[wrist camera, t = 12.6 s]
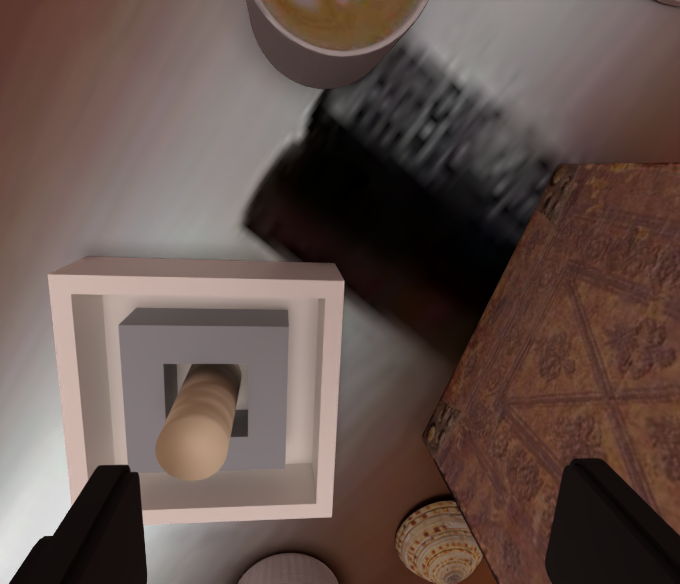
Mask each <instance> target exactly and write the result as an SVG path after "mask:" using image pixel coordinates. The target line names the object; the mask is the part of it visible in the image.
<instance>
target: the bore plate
mask: <svg viewBox="0 0 680 584" xmlns="http://www.w3.org/2000/svg"><path fill="white" fill-rule="evenodd" d="M118 329H119V343H120V358H121V373H122V387H123V402H124V417H125V431H126V446H127V461H128V466H129V467H130V470H131V472H138V473H157V472H166V471H165V470H163V468H162V467H161V466H160V464H159V463H158V460H157V458H156V453H155V446H156V442H157V439H158V437H159V435H160V432H161V430H162V428H163V426H164V424H165V422H166V419H167V417H168V415H169V413H170V411H171V408H172V406H173V404H174V402H175V400H176V398H177V395H178V384H177V364H248V410H235V416H234V421H233V426H232V432H231V437H230V442H229V447H228V453H227V457H226V460H225V462H224V464H223V466H222V467H221V468H220V469H219V470H218V471H228V470H264V469H285V458H286V418H287V378H288V338H289V321H288V310H265V309H195V308H135V309H134V310H133V311H132V312H131V313H130V314H129V315H128V316H127V317H126V318H125V319H124V320H123V321H122V322H121V323H120V324H119V325H118Z"/></svg>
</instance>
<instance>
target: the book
mask: <svg viewBox="0 0 680 584" xmlns="http://www.w3.org/2000/svg"><path fill="white" fill-rule="evenodd" d="M423 441H424V443H425V445H426V447H427V449H428V450H429V452H430V454H431V456H432V458H433V460H434V462H435V464H436V466H437V468H438V470H439V472H440V474H441V476H442V478H443V479H444V481H445V483H446V485H447V487H448V489H449V491H450V493H451V495H452V497H453V499H454V501H455V503H456V505H457V507H458V508H459V510H460V512H461V514H462V516H463V518H464V520H465V522H466V524H467V526H468V528H469V530H470V532H471V534H472V536H473V538H474V539H475V541H476V543H477V545H478V547H479V549H480V551H481V553H482V555H483V557H484V559H485V561H486V563H487V565H488V567H489V568H490V570H491V572H492V574H493V576H494V578H495V580H496V582H497V584H552V583H551V581H550V579H549V577H548V575H547V572H546V568H545V557H546V552H547V547H548V542H549V538H550V533H551V528H552V523H553V518H554V513H555V508H556V503H557V499H558V494H559V489H560V484H561V479H562V474H563V470H564V468H565V466H567V465H570V462H571V461H572V460H573V459H575V458H600V459H602V460H604V461H605V462H606V463H607V464H608V465H609V466H610V467H611V468H612V469H613V470H614V471H615V472H616V473H617V474H618V475H619V476H620V477H621V478H622V479H623V480H624V481H625V482H626V483H627V484H628V485H629V486H630V487H631V488H632V489H633V490H634V491H635V492H636V493H637V494H638V495H639V496H640V497H641V498H642V499H643V500H644V501H645V502H646V503H647V504H648V505H649V506H650V507H651V508H652V509H653V510H654V511H655V512H656V513H657V514H658V515H659V516H660V517H661V518H662V519H663V520H664V521H665V522H666V523H667V524H668V525H669V526H670V527H672V528H673V529H674V530H675V531H676V532H677V533H678V534H679V535H680V162H675V163H602V164H560V165H559V166H558V167H557V168H556V169H555V171H554V172H553V174H552V176H551V178H550V180H549V182H548V184H547V186H546V188H545V190H544V192H543V194H542V196H541V198H540V200H539V202H538V204H537V206H536V208H535V210H534V212H533V214H532V216H531V218H530V220H529V222H528V225H527V227H526V229H525V231H524V233H523V235H522V237H521V239H520V241H519V243H518V245H517V247H516V249H515V251H514V253H513V255H512V257H511V259H510V261H509V263H508V265H507V267H506V269H505V271H504V273H503V275H502V277H501V279H500V281H499V283H498V285H497V287H496V289H495V291H494V293H493V295H492V297H491V299H490V301H489V303H488V305H487V307H486V309H485V311H484V313H483V315H482V317H481V319H480V321H479V323H478V325H477V327H476V329H475V331H474V333H473V335H472V337H471V339H470V341H469V343H468V345H467V347H466V349H465V351H464V353H463V355H462V357H461V359H460V361H459V363H458V365H457V367H456V369H455V371H454V373H453V375H452V377H451V379H450V382H449V384H448V386H447V388H446V390H445V392H444V394H443V396H442V398H441V400H440V402H439V404H438V406H437V408H436V410H435V412H434V414H433V416H432V418H431V420H430V422H429V424H428V426H427V428H426V430H425V432H424V434H423Z"/></svg>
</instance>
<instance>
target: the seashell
mask: <svg viewBox="0 0 680 584" xmlns="http://www.w3.org/2000/svg"><path fill="white" fill-rule="evenodd" d="M395 547H396V549H397V554H398V555H399V557H400V558H401V560H402V562H403V563H404V565H405V566H406V567H407V568H409V569H410V570H411V571H412V572H414V573H415V574H417V575H419V576H421V577H423V578H425V579H426V580H428V581H431V582H433V583H437V584H456V583H458V582H460V581H462V580H464V579H465V578H466V577H468V576H469V575H470V574H471V573H472V572H473V571H474V569H475V568H476V567H477V566H478V564H479V563H480V561H481V559H482V556H483V555H482V553H481V551H480V549H479V547H478V545H477V543H476V541H475V539H474V538H473V536H472V534H471V532H470V530H469V528H468V526H467V524H466V522H465V520H464V518H463V516H462V514H461V512H460V510H459V508H458V507H457V505H456V503H455V502H453V501H441V502H436V503H432V504H429V505H427V506H424V507H422V508H421V509H419V510H417V511H415V512H414V513H413V514H412V515H410V516H409V517H408V518H407V519H406V520H405V521H404V522H403V524H402V525H401V527H400V528H399V530H398V532H397V535H396V540H395Z"/></svg>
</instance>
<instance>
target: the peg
mask: <svg viewBox="0 0 680 584" xmlns="http://www.w3.org/2000/svg"><path fill="white" fill-rule="evenodd" d="M241 377H242V376H241V370H240V367H239V366H238V364H192V365H191V367H190V369H189V371H188V374H187V376H186V378H185V380H184V382H183V384H182V387H181V389H180V391H179V393H178V395H177V398H176V400H175V402H174V404H173V406H172V408H171V411H170V413H169V415H168V417H167V419H166V422H165V424H164V426H163V428H162V430H161V432H160V435H159V437H158V439H157V442H156V446H155V453H156V458H157V460H158V463H159V464H160V466H161V467H162V468H163V470H165V471H166V472H167V473H168V474H170V475H171V476H173V477H175V478H178V479H181V480H186V481H197V480H202V479H205V478H208V477H210V476H212V475H213V474H215V473H216V472H217V471H218V470H219V469H220V468H221V467H222V466H223V464H224V462H225V460H226V457H227V453H228V447H229V442H230V437H231V432H232V426H233V421H234V416H235V410H236V405H237V400H238V395H239V389H240V384H241Z"/></svg>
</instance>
